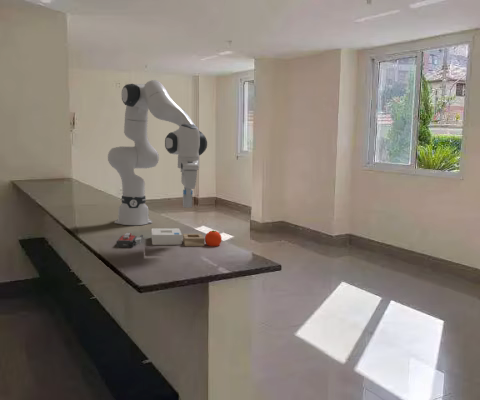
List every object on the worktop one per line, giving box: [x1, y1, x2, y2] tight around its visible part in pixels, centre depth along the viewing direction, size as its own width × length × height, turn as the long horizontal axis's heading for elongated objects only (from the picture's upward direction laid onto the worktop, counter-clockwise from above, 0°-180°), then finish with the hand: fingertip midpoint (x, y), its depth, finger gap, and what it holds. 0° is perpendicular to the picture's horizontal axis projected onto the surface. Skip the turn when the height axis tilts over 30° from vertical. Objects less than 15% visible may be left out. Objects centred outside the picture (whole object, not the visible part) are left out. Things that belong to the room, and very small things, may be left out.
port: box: [150, 227, 183, 246], centre depth 209 cm, size 14×12×5 cm
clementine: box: [204, 229, 222, 247], centre depth 205 cm, size 8×7×7 cm
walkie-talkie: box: [116, 232, 144, 248], centre depth 207 cm, size 9×4×20 cm
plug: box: [182, 189, 194, 209], centre depth 205 cm, size 4×4×7 cm
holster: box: [182, 233, 205, 247], centre depth 206 cm, size 10×8×4 cm
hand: (187, 197), depth 205 cm, fingers closed on plug, 3 cm apart
